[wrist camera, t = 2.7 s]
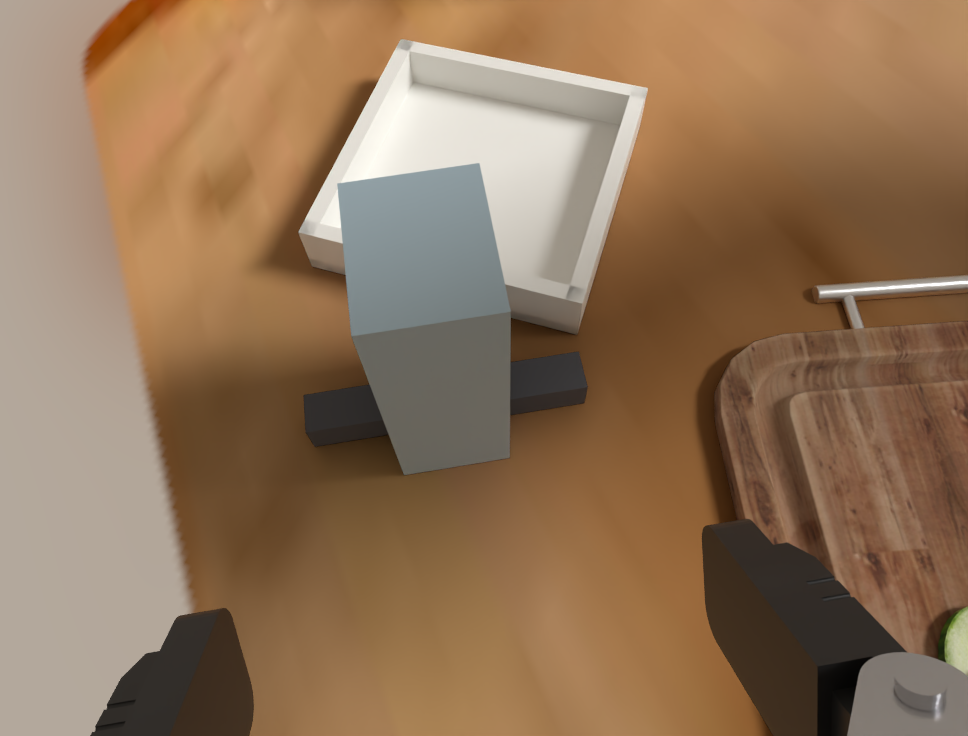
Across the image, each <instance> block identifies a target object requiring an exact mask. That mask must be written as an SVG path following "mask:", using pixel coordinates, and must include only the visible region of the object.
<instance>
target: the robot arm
mask: <svg viewBox="0 0 968 736" xmlns="http://www.w3.org/2000/svg"><path fill="white" fill-rule="evenodd" d="M702 550H703V569H704V588H705V605H706V612H707V617H708V621H709V624H710V627H711V630H712V633H713V636H714V638H715V640H716V642H717V644H718V645H719V647H720V649H721V650H722V652H723V654H724V655H725V657H726V658H727V660H728V662H729V663H730V665H731V667H732V668H733V670H734V672H735V673H736V675H737V677H738V678H739V680H740V682H741V683H742V685H743V687H744V688H745V690H746V691H747V693H748V695H749V696H750V698H751V700H752V701H753V703H754V705H755V706H756V708H757V710H758V711H759V713H760V715H761V716H762V718H763V719H764V721H765V723H766V724H767V726H768V728H769V729H770V731H771V733H772V734H773V736H968V676H967V675H966V674H964V673H963V672H962V671H960V670H958V669H957V668H955V667H954V666H952V665H950V664H948V663H946V662H943V661H941V660H938V659H935V658H933V657H929V656H925V655H921V654H915V653H908V652H907V651H906V650H905V649H904V648H903V647H902V646H901V645H900V644H899V643H898V642H897V641H896V640H895V639H894V638H893V637H892V636H891V635H890V634H889V633H888V632H887V631H886V630H885V629H884V627H883V626H882V625H881V624H880V623H879V622H878V621H877V620H876V619H875V618H874V617H873V616H872V615H871V614H870V613H869V612H868V611H867V610H866V609H865V608H864V607H863V606H862V605H861V604H860V603H859V602H858V601H857V599H856V598H855V597H851V595H850V592H849V591H848V590H847V589H846V588H845V587H844V586H843V585H842V584H841V583H840V582H839V581H838V580H837V581H836V580H835V578H834V576H833V575H832V574H831V573H830V571H829V570H828V569H827V568H826V567H825V566H824V565H823V564H822V563H821V562H820V561H819V560H818V559H817V558H816V557H815V556H813V555H811V554H809V553H807V552H805V551H803V550H801V549H799V548H797V547H795V546H793V545H792V544H790V543H788V542H786V543H780V544H775V545H773V544H772V543H771V541H770V540H769V539H768V538H767V537H766V536H765V535H764V534H763V532H762V531H761V530H760V529H759V528H758V527H757V526H756V525H755V523H754V522H753V521H752V520H750V519H742V520H736V521H730V522H725V523H719V524H713V525H707V526H705V527H704V528H703V532H702ZM253 710H254V703H253V691H252V685H251V681H250V678H249V674H248V671H247V667H246V664H245V660H244V657H243V653H242V650H241V646H240V643H239V639H238V636H237V633H236V629H235V626H234V622H233V619H232V616H231V614H230V612H229V611H228V610H227V609H226V608H222V609H216V610H210V611H204V612H199V613H193V614H187V615H182V616H179V617H177V618H176V620H175V621H174V623H173V625H172V627H171V629H170V631H169V633H168V636H167V637H166V639H165V641H164V643H163V645H162V648H161V650H160V651H158V652H152V653H147V654H145V655H144V656H143V657H142V658H141V659H140V660H139V661H138V662H137V663H136V664H135V665H134V666H133V667H132V668H131V669H130V670H129V671H128V672H127V673H126V674H125V675H124V676H123V677H122V678H121V679H120V681H119V683H118V685H117V687H116V689H115V691H114V692H113V694H112V696H111V698H110V700H109V702H108V704H107V710H104V711H103V713H102V715H101V717H100V719H99V721H98V722H97V724H96V726H95V727H96V731H95V732H92V734H91V735H90V736H249V734H250V730H251V726H252V721H253Z"/></svg>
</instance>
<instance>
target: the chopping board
mask: <svg viewBox="0 0 968 736" xmlns="http://www.w3.org/2000/svg"><path fill="white" fill-rule="evenodd" d="M811 292H812V295H813V298H814V301H815V303H817V304H819V303H833V302H842V305H843V308H844V311H845V313H846V316H847V319H848V322H849V325H850V328H851V329H844V330H830V331H816V332H801V333H787V334H781V335H777V336H773V337H769V338H765V339H761V340H757V341H754V342H752V343H751V344H750V345H749V346H747V347H746V348H745V349H743V350H742V351H741V352H740V353H738V354H737V355H736V356H734V357H733V358H732V359H731V360H730V362H729V364H728V366H727V367H726V369H725V371H724V374H723V376H722V378H721V380H720V382H719V384H718V386H717V388H716V390H715V392H714V399H715V425H716V429H717V434H718V438H719V443H720V447H721V451H722V456H723V460H724V465H725V469H726V474H727V478H728V482H729V487H730V491H731V496H732V500H733V505H734V509H735V513H736V518H737V520H742V519H750V520H752V521H753V522H754V523H755V525H756V526H757V527H758V528H759V529H760V530H761V531H762V532H763V534H764V535H765V536H766V537H767V538H768V539H769V540H770V541H771V543H772V544H773V545H775V544H780V543H786V542H788V543H790V544H792V545H793V546H795V547H797V548H799V549H801V550H803V551H805V552H807V553H809V554H811V555H813V556H815V557H816V558H817V559H818V560H819V561H820V562H821V563H822V564H823V565H824V566H825V567H826V568H827V569H828V570H829V571H830V573H831V574H832V575H833V576H834V578H835V580H836V581H837V580H838V581H839V582H840V583H841V584H842V585H843V586H844V587H845V588H846V589H847V590H848V591H849V592H850V595H851V597H855V598H856V599H857V601H858V602H859V603H860V604H861V605H862V606H863V607H864V608H865V609H866V610H867V611H868V612H869V613H870V614H871V615H872V616H873V617H874V618H875V619H876V620H877V621H878V622H879V623H880V624H881V625H882V626H883V627H884V629H885V630H886V631H887V632H888V633H889V634H890V635H891V636H892V637H893V638H894V639H895V640H896V641H897V642H898V643H899V644H900V645H901V646H902V647H903V648H904V649H905V650H906V651H907V652H908V653H915V654H921V655H925V656H929V657H933V658H935V659H938V660H941V661H943V662H946V663H948V664H950V665H952V666H954V667H955V668H957V669H958V670H960V671H962V672H963V673H964V674H966V675H967V676H968V321H958V322H944V323H929V324H915V325H901V326H887V327H873V328H865V327H864V324H863V321H862V319H861V316H860V313H859V310H858V307H857V304H856V301H861V300H875V299H889V298H904V297H918V296H932V295H946V294H960V293H968V275H955V276H941V277H927V278H913V279H898V280H884V281H870V282H855V283H841V284H827V285H815V286H814V287H813V288H812V291H811Z"/></svg>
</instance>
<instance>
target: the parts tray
mask: <svg viewBox="0 0 968 736" xmlns="http://www.w3.org/2000/svg"><path fill="white" fill-rule="evenodd" d="M647 90H648V88H644V87H639V86H634V85H629V84H624V83H619V82H614V81H609V80H604V79H599V78H594V77H589V76H584V75H579V74H574V73H569V72H564V71H559V70H554V69H549V68H544V67H539V66H534V65H529V64H524V63H519V62H514V61H509V60H504V59H499V58H494V57H489V56H484V55H479V54H474V53H469V52H464V51H458V50H453V49H448V48H443V47H438V46H433V45H428V44H423V43H418V42H413V41H408V40H403V39H401V40H400V42H399V44H398V45H397V47H396V49H395V51H394V53H393V55H392V57H391V59H390V60H389V62H388V64H387V66H386V68H385V70H384V72H383V74H382V75H381V77H380V79H379V81H378V83H377V85H376V87H375V89H374V90H373V92H372V94H371V96H370V98H369V100H368V102H367V104H366V106H365V107H364V109H363V111H362V113H361V115H360V117H359V119H358V121H357V122H356V124H355V126H354V128H353V130H352V132H351V134H350V136H349V137H348V139H347V141H346V143H345V145H344V147H343V149H342V151H341V152H340V154H339V156H338V158H337V160H336V162H335V164H334V166H333V168H332V169H331V171H330V173H329V175H328V177H327V179H326V181H325V183H324V184H323V186H322V188H321V190H320V192H319V194H318V196H317V198H316V199H315V201H314V203H313V205H312V207H311V209H310V211H309V213H308V214H307V216H306V218H305V220H304V222H303V224H302V226H301V228H300V230H299V231H298V233H299V236H300V238H301V241H302V243H303V246H304V248H305V251H306V253H307V256H308V258H309V261H310V263H311V265H312V267H316V268H320V269H324V270H328V271H332V272H336V273H339V274H343V275H346V273H345V263H344V252H343V241H342V230H341V220H340V209H339V198H338V187H337V183H344V182H351V181H358V180H365V179H372V178H379V177H386V176H393V175H399V174H406V173H413V172H420V171H427V170H434V169H441V168H448V167H455V166H462V165H469V164H475V163H480V168H481V173H482V178H483V182H484V187H485V192H486V197H487V201H488V206H489V211H490V216H491V220H492V225H493V230H494V234H495V239H496V244H497V249H498V253H499V258H500V263H501V268H502V272H503V277H504V282H505V287H506V291H507V296H508V301H509V305H510V310H511V318H514V319H518V320H521V321H525V322H529V323H533V324H537V325H541V326H545V327H549V328H552V329H556V330H560V331H564V332H568V333H572V334H576V335H577V334H578V331H579V328H580V324H581V321H582V318H583V314H584V311H585V308H586V304H587V301H588V298H589V294H590V291H591V288H592V284H593V281H594V278H595V274H596V271H597V268H598V264H599V261H600V258H601V254H602V251H603V248H604V244H605V241H606V238H607V234H608V231H609V228H610V224H611V221H612V218H613V214H614V211H615V208H616V204H617V201H618V198H619V195H620V191H621V188H622V185H623V181H624V178H625V175H626V171H627V168H628V165H629V161H630V158H631V155H632V151H633V148H634V145H635V141H636V138H637V135H638V131H639V128H640V123H641V119H642V114H643V109H644V105H645V100H646V95H647Z"/></svg>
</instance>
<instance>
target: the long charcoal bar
mask: <svg viewBox="0 0 968 736" xmlns="http://www.w3.org/2000/svg"><path fill="white" fill-rule="evenodd" d="M587 388H588V386H587V382H586V378H585V375H584V371H583V367H582V363H581V359H580V355H579V352H573V353H566V354H560V355H554V356H547V357H541V358H535V359H528V360H522V361H516V362H510V415H514V414H520V413H526V412H532V411H538V410H544V409H551V408H557V407H563V406H569V405H575V404H582V403H584V401H585V397H586V392H587ZM304 411H305V429H306V434H307V435H308V437H309V438H310V440H311V442H312V443H313V445H314V446H315V447H316V446H322V445H328V444H334V443H341V442H347V441H353V440H359V439H365V438H371V437H378V436H384V435H389V434H388V431H387V429H386V426H385V424H384V421H383V418H382V416H381V413H380V410H379V408H378V405H377V403H376V400H375V397H374V395H373V392H372V389H371V387H370V385H364V386H358V387H351V388H345V389H339V390H333V391H326V392H320V393H314V394H307V395H304Z"/></svg>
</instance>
